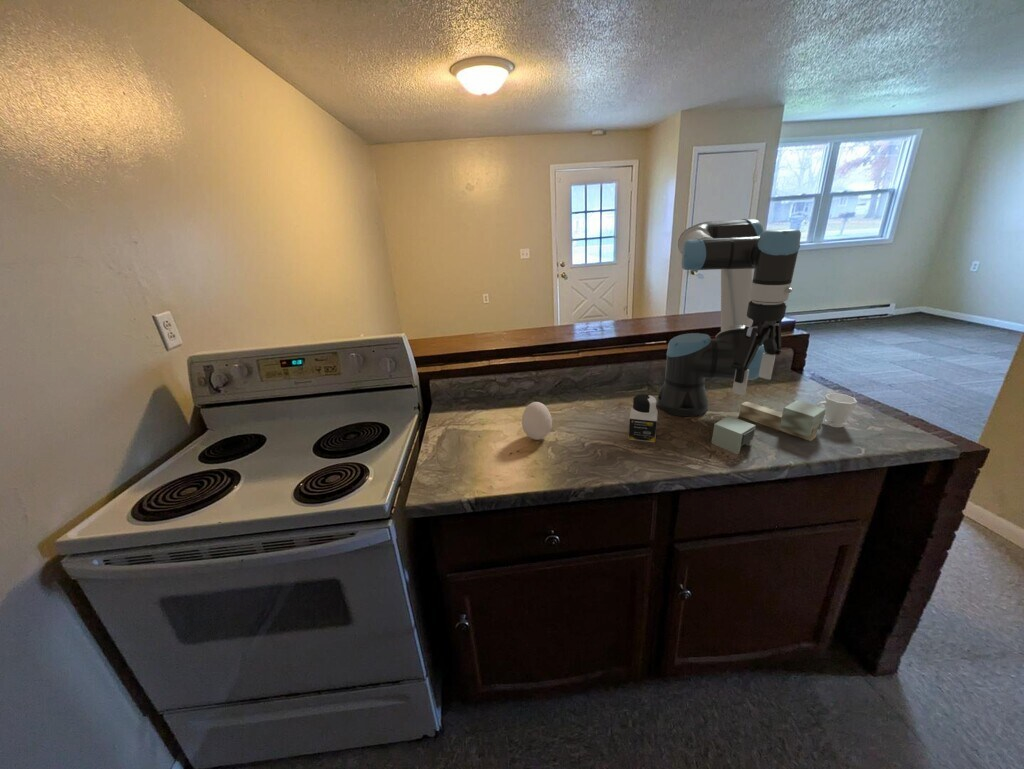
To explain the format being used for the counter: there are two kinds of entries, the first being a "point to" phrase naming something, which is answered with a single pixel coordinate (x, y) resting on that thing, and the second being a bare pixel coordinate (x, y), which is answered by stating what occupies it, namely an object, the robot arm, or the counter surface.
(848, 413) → the cup
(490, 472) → the counter surface
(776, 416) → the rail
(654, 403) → the medicine bottle
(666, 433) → the counter surface
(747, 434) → the block
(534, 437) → the egg
